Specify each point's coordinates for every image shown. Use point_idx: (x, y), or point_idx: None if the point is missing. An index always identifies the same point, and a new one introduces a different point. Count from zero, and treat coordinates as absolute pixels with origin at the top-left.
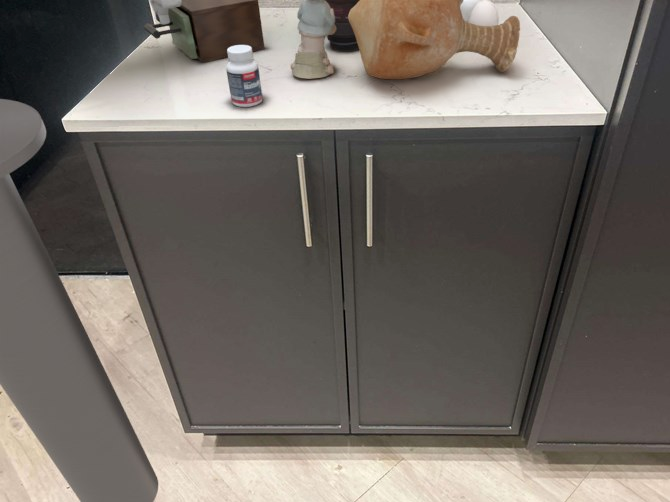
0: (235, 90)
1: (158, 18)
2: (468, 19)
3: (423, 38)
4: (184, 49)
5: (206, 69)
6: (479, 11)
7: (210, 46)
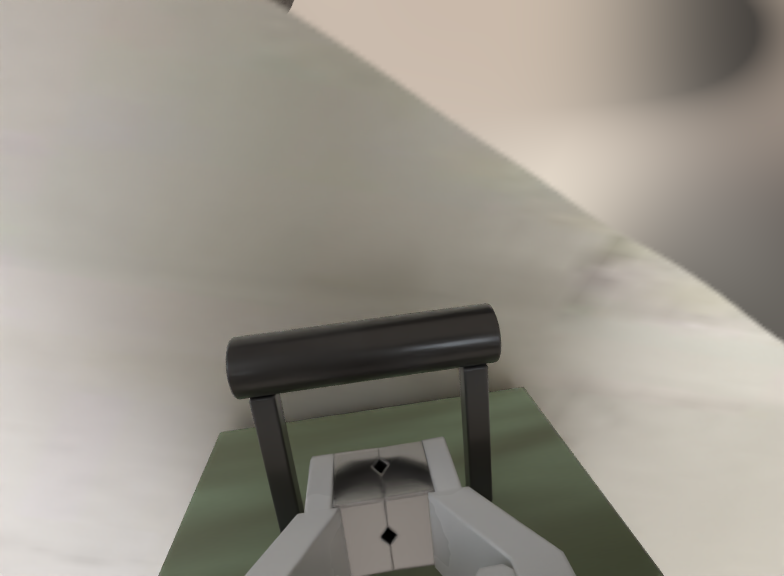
0: None
1: (352, 473)
2: None
3: None
4: (320, 431)
5: (118, 458)
6: None
7: None
